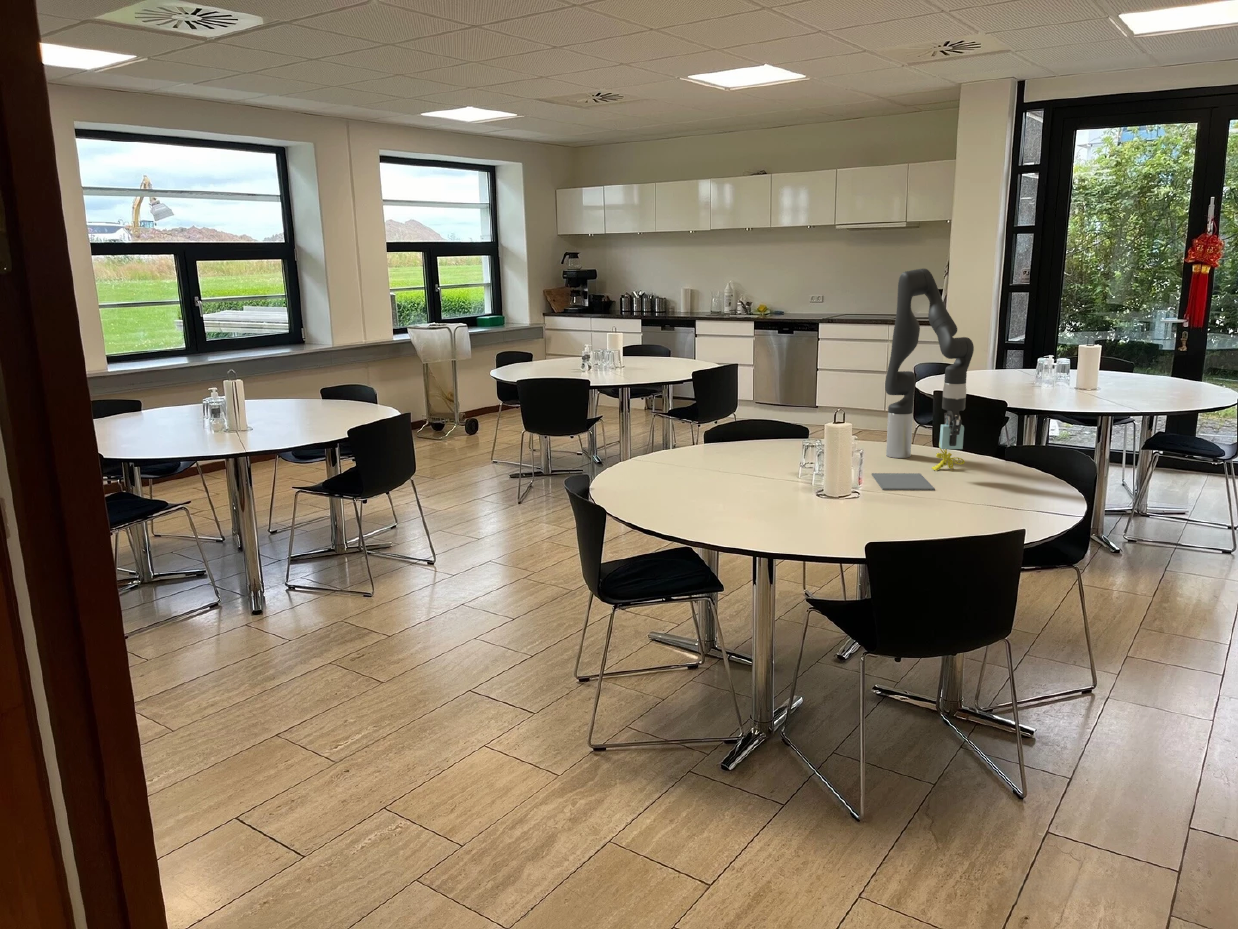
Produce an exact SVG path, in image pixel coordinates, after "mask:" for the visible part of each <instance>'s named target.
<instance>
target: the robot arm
mask: <svg viewBox="0 0 1238 929" xmlns="http://www.w3.org/2000/svg"><path fill="white" fill-rule="evenodd" d="M935 280H936V279H935V278H934V275H933V274H932V273H931V271H930V270H929V269H928V268H924V267H923V268H916V269H911V270H907V271H906V270H905V271H903V272H902V273H901V274H900V275H899V278H898V282H897V283H898V284H897V298H896V301H897V302H896V314H895V319H894V325H893V334H892V343H891V352H890V357H889V363H888V367H887V372H886V376H885V382H884V390H885V393H886V394H887V395H889V396H903V398H901V399H900V400H898V401H895V402H893V403H890V404H889V405H888V407H887V429H886V434H887V435H886V448H885V449H886V450H885V451H886V452H885V454H886V457H890V458H894V459H895V458H896V459H905V458H911V453H912V438H913V436H912V435H913V418H914V416H913V415H914V403H915V401H914V400H915V393H916V392H915V391H916V374H915V372H913V371H910V370H907V371H905V370H903V371H902V370H900V367H901V366H902V364H903V362H904V361H905V360H906V359H907V358H908V357H909V356H910V355H911V354H912V353H913V352H914V351H915V349H916V348H917V347H918V343H919V337H920V331H921V327H920V323H919V321H918V320H917V318H916V316H915V315H914V313H913V311H912V299H913V298H914V297H918V296H922V295H925V297H926V298H927V300H928V301H929V308H928V316H927V318H928V322H929V325H930V327H931V328H932V330H933V331H934V333H935V335H936V336H937V341H938V344H939V348H940V352H941V354H942V355H943V357H945V358H946V359H950V360H954V363H952V364H950V365H947V366H946V367H945V372H944V382H943V389H942V402H941V409H943V410H945V411H946V412H944V413H943V415H944V424H946V425H948V426H949V429H950V440H949V445H950V446H956V441H957V435H959V434H960V428H961V425H962V423H963V420H962V419H961V415H960V411H964V410H965V409H966V401H967V399H966V398H967V374H968V373H967V372H968V369H969V367H970V364H971V360H972V357H973V355H974V351H975V348H974V347H975V346H974V343H973V340H972V339H970V338H969V337H965V336H963V337H955V335H956V334H957V333H958V327H957V324H956V323H955V321H954V319H953V318H952V316H951V314H950V313H949V311H948V310H947V307H946V305H945V303H944V301H943V298H942V296H941V293H940V290H939V287H938V285H937V282H936V281H935ZM899 370H900V371H899ZM951 425H953V426H951ZM955 429H956V431H954V430H955Z"/></svg>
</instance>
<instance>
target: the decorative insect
mask: <svg viewBox="0 0 1238 929" xmlns="http://www.w3.org/2000/svg"><path fill="white" fill-rule="evenodd" d="M939 443H940V441H939V442H938V444H939ZM938 448H939V450H940V452H938V453H936V455H935V457H936V458H938V459H942V460H940V462H939V463H937V464H935V466H931V470H934V471H936V472H937V471H939V470H941V469H942V468H944V466H946V465H947V468H948V469H949V470H951V469H954V464H955V465H960V466H961V465H964V464H965V462H966V461H965V459H963V458H962V457H952V455H953V454H952V453H951V452H950V451H949V452H948V449H941V448H940V447H939V446H938Z"/></svg>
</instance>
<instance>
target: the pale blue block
mask: <svg viewBox="0 0 1238 929" xmlns="http://www.w3.org/2000/svg"><path fill="white" fill-rule="evenodd" d="M951 426H953V425H951ZM954 431H956V429H955V430H954ZM964 433H965V425H963V424H961V428H960V434H959V435H957V441H956V446H950V445H949V440H950V429H949V426H948V425H946V424H945V423H944V424H940V432H939V442H940V443H939V442H938V448H939V447H940V448H941V449H942V450H943V449H944V450H945V449H947V450H963V449H964V448H963V446H964V436H965V435H964ZM940 448H939V449H940Z"/></svg>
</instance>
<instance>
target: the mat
mask: <svg viewBox="0 0 1238 929" xmlns="http://www.w3.org/2000/svg"><path fill="white" fill-rule="evenodd" d="M871 476H872V477H873V479H874V480H875V482H876V483H877V484H878V486H879V487H880V488H881V490H882V491H935V490H936V488H935V487H934V485H932V484H931V483H930V482H929V480H927V478H926V477H925V476H924V475H922V473H920V472H918V473H917V472H916V473H915V472H913V473H912V472H911V473H910V472H908V473H907V472H906V473H905V472H904V473H903V472H900V473H899V472H897V473H896V472H893V473H892V472H889V473H888V472H887V473H885V472H878V473H877V472H871Z"/></svg>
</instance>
